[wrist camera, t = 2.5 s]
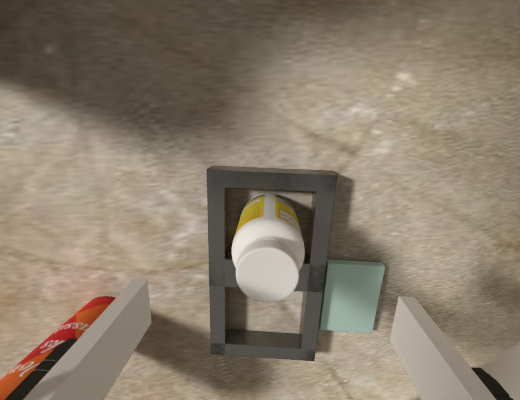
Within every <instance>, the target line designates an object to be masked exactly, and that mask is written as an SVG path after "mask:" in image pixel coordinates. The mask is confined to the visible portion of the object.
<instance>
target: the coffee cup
mask: <svg viewBox="0 0 520 400" xmlns="http://www.w3.org/2000/svg"><path fill="white" fill-rule="evenodd" d="M115 299H116V298H113V297H107V296H104V297H98V298H96V299H94V300H92V301H90V302H89V303H88V304H87V305H85V306H84V307H83V308H82V309H81V310H79V311H78V312H77V313H76V314H75V315H74V316H72V317H71V318H70V319H69V320H68V321H67V322H65V323H64V324H63V325H62V326H61V327H60V328H59V329H57V330H56V331H55V332H54V333H53V334H52V335H51V336H49V337H48V338H47V339H46V340H45V341H44V342H43V343H41V344H40V345H39V346H38V347H37V348H36V349H35V350H33V351H32V352H31V353H30V354H29V355H28V356H27V357H25V358H24V359H23V360H22V361H21V362H20V363H19V364H17V365H16V366H15V367H14V368H13V369H12V370H11V371H9V372H8V373H7V374H6V375H5V376H4V377H3V378H2V379H0V400H4V399H5V398H6V397H7V396H8V395H9V394H10V393H11V392H12V391H13V390H14V389H15V388H16V387H17V386H18V385H19V384H20V383H21V382H22V381H23V380H24V379H25V378H26V377H27V376H28V375H29V374H30V373H31V372H32V371H34V370H35V368H36V367H37V366H38V365H39V364H40V363H41V362H42V361H44V359H45V358H46V357H47V356H48V355H49V354H50V353H51V352H52V351H53V350H54V349H55V348H56V347H57V346H59V345H60V344H62V343H63V342H65V341H66V340H68V339H69V338H78V339H79V338H80V337H81V336H82V335H83V334H84V332H85V331H86V330H87V329H88V328H89V327H90V326H91V325H92V324H93V323H94V322H95V320H96V319H97V318H98V317H99V316H100V315H101V314H102V313H103V312H104V311H105V309H106V308H107V307H108V306H109V305H110V304H111V303H112V302H113V301H114V300H115Z"/></svg>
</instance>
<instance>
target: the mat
mask: <svg viewBox="0 0 520 400" xmlns="http://www.w3.org/2000/svg"><path fill="white" fill-rule="evenodd" d="M384 270H385V266H384V264H383V263H382V262H367V261H349V260H331V259H327V261H326V269H325V277H324V285H323V293H322V301H321V310H320V318H319V328H320V330H331V331H347V332H362V333H372V331H373V326H374V321H375V316H376V311H377V306H378V301H379V295H380V290H381V285H382V280H383V275H384Z"/></svg>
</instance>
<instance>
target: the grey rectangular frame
mask: <svg viewBox="0 0 520 400" xmlns="http://www.w3.org/2000/svg"><path fill="white" fill-rule="evenodd" d="M336 179H337V175H336V174H335V173H334V172H333V171H324V170H301V169H278V168H255V167H232V166H211V167H209V168H208V169H207V199H208V243H209V286H210V329H211V354H217V355H232V356H247V357H261V358H276V359H290V360H305V361H314V359H315V350H316V342H317V334H318V326H319V318H320V310H321V301H322V293H323V285H324V277H325V269H326V261H327V252H328V244H329V236H330V228H331V220H332V212H333V203H334V195H335V187H336ZM228 188H248V189H270V190H291V191H313V199H312V209H311V219H310V230H309V240H308V250H307V254H305V257H304V262H303V265H302V267H301V269H300V270H299V280H298V284H297V286H296V288H295V289H294V291H303V301H302V312H301V322H300V332H299V334H290V333H275V332H259V331H244V330H228V287H239V285H238V283H237V280H236V268H235V266H234V263H233V260H232V250H230V249H228ZM239 288H240V287H239Z"/></svg>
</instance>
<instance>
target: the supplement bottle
mask: <svg viewBox="0 0 520 400" xmlns="http://www.w3.org/2000/svg"><path fill="white" fill-rule="evenodd" d="M304 257H305V248H304V242H303V239H302V235H301V231H300V227H299V223H298V219H297V215H296V212H295V210H294V208H293V206H292V205H291V203H290V202H289V201H288V200H286V199H285V198H284V197H282V196H280V195H277V194H271V193H267V194H261V195H258V196H256V197H254V198H252V199H251V200H250V201H249V202H248V203H247V204H246V205H245V207H244V209H243V211H242V213H241V217H240V220H239V224H238V227H237V230H236V233H235V236H234V239H233V243H232V260H233V263H234V266H235V268H236V280H237V283H238V285H239V287H240V289H241V290H242V291H243V292H244V293H245V294H246V295H247V296H248V297H250V298H252V299H254V300H256V301H260V302H268V303H269V302H276V301H279V300H282V299H284V298H286V297H288V296H289V295H290V294H291V293H292V292H293V291H294V289H295V288H296V286H297V284H298V280H299V270H300V269H301V267H302V265H303V262H304Z"/></svg>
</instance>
